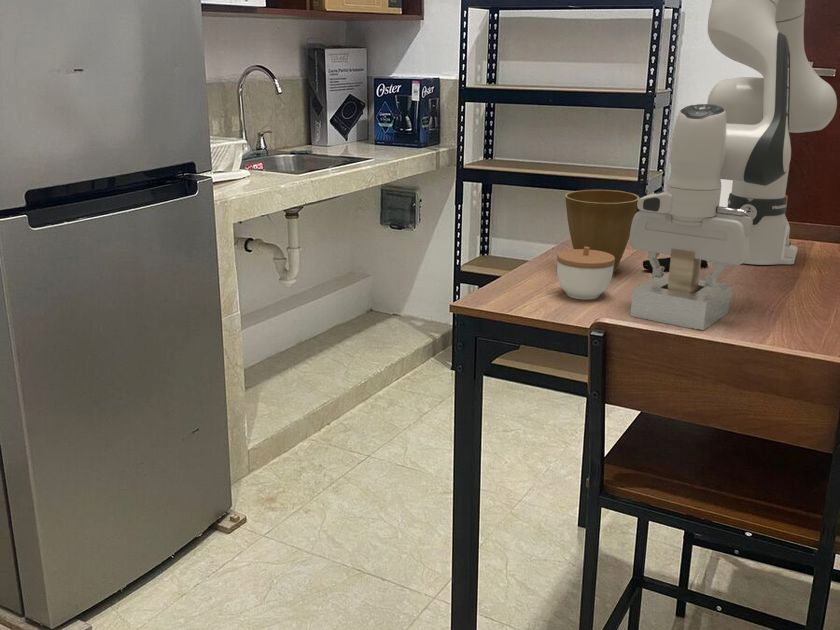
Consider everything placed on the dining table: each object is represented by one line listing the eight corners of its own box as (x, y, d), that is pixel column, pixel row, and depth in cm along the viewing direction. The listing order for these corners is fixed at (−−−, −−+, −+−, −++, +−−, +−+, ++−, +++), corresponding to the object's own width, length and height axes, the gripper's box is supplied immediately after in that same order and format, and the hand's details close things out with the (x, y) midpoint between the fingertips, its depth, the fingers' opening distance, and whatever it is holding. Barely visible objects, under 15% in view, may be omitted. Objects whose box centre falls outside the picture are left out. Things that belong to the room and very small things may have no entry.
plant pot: (576, 258, 188) (581, 187, 183) (642, 268, 180) (649, 193, 176) (549, 273, 176) (553, 197, 171) (618, 284, 169) (624, 204, 164)
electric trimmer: (637, 272, 180) (638, 257, 179) (697, 264, 185) (699, 250, 184) (648, 276, 176) (649, 261, 175) (709, 269, 182) (710, 254, 181)
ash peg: (673, 309, 153) (680, 244, 149) (694, 313, 151) (702, 248, 147) (664, 314, 150) (671, 248, 146) (686, 319, 148) (694, 252, 144)
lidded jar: (599, 306, 154) (603, 256, 151) (545, 297, 160) (548, 248, 157) (619, 293, 163) (623, 245, 160) (567, 284, 168) (571, 238, 165)
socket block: (659, 299, 159) (661, 273, 157) (728, 312, 152) (732, 285, 150) (630, 315, 149) (632, 288, 148) (703, 331, 142) (706, 302, 140)
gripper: (760, 207, 141) (749, 287, 145) (643, 194, 152) (636, 268, 157) (748, 213, 136) (737, 295, 140) (629, 198, 148) (622, 275, 152)
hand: (683, 281), depth 148 cm, fingers open, 8 cm apart
